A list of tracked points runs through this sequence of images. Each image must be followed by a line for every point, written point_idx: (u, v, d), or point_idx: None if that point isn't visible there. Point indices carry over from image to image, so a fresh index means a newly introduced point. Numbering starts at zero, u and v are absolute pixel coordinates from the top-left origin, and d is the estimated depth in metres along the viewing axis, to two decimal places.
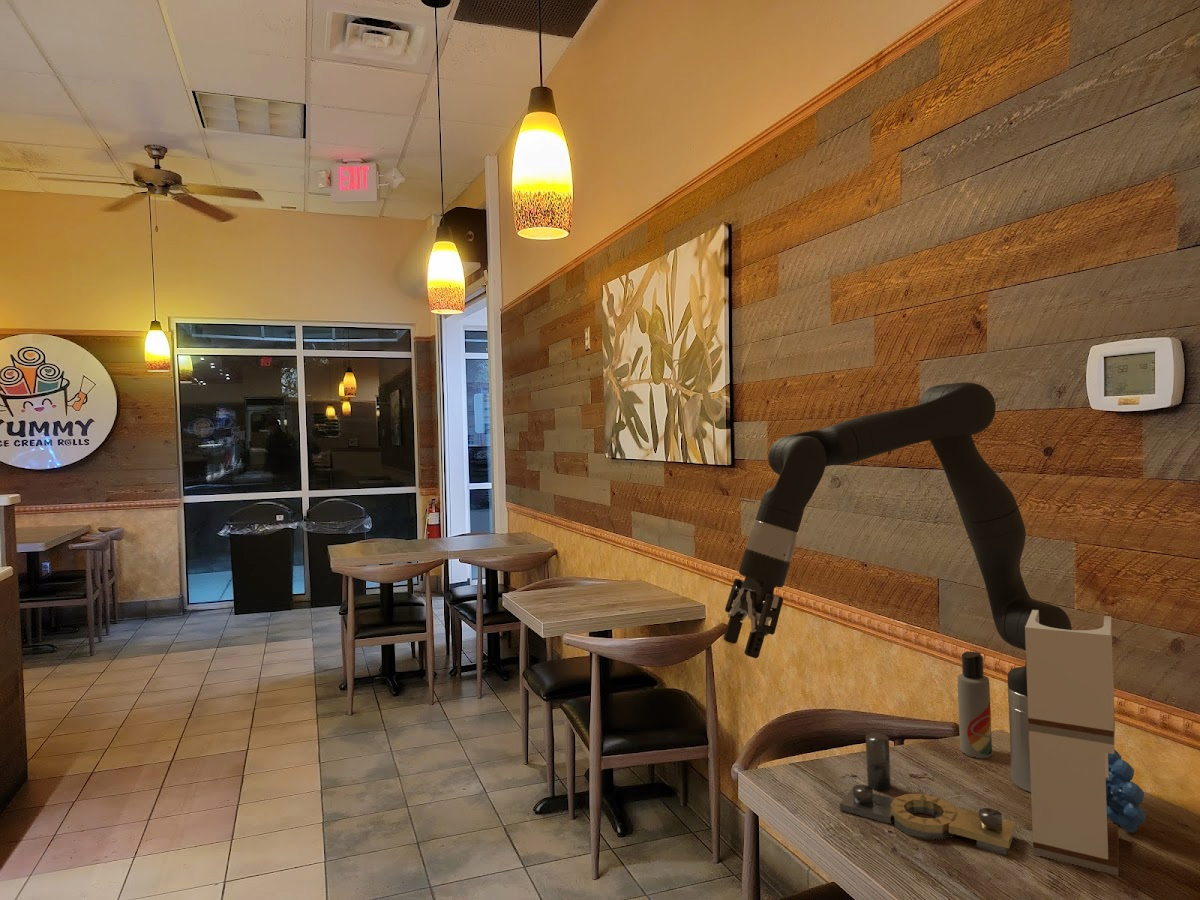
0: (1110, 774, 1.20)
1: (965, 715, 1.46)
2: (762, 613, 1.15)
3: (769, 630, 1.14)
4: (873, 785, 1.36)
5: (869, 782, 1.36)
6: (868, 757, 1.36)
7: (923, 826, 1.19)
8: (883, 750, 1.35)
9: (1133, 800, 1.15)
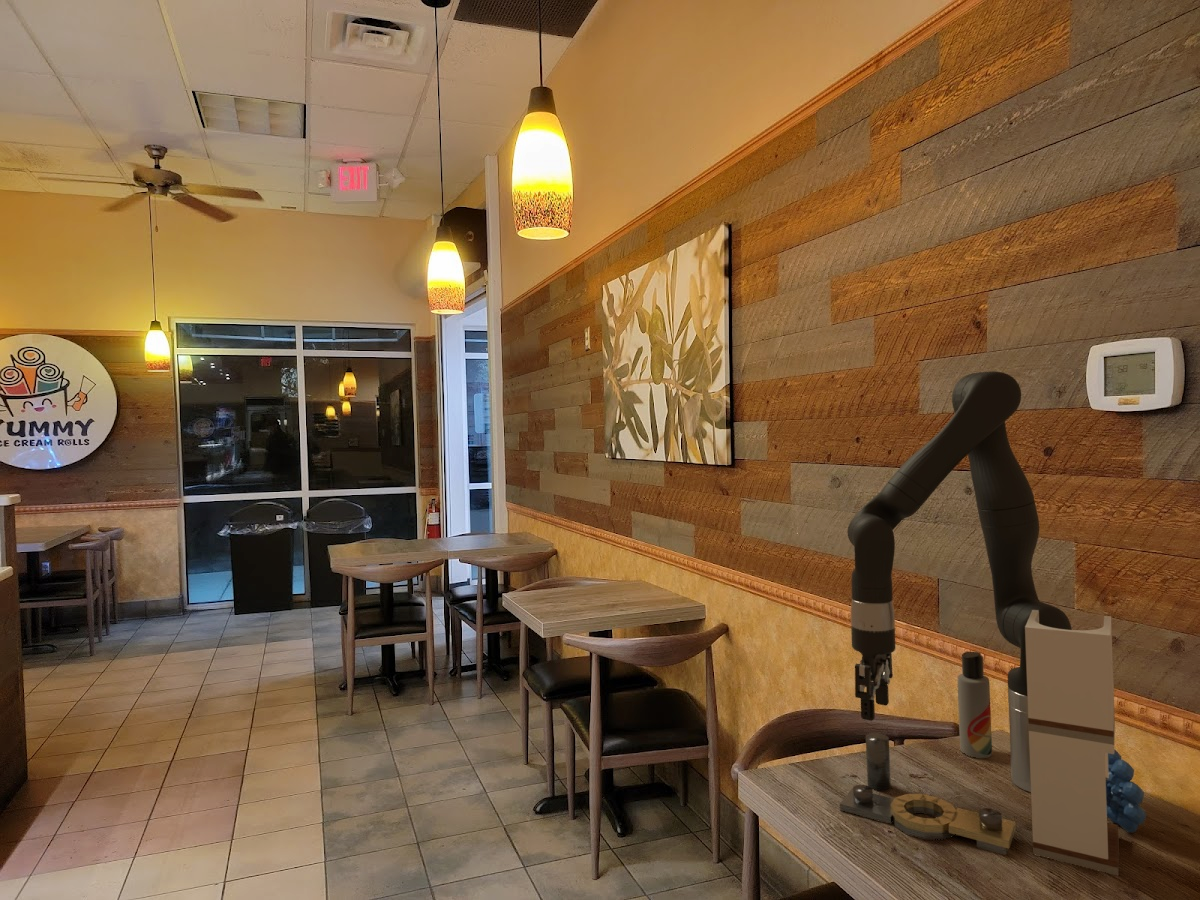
0: (1110, 774, 1.20)
1: (965, 715, 1.46)
2: None
3: (863, 696, 1.30)
4: (873, 785, 1.36)
5: (869, 782, 1.36)
6: (868, 757, 1.36)
7: (923, 826, 1.19)
8: (883, 750, 1.35)
9: (1133, 800, 1.15)
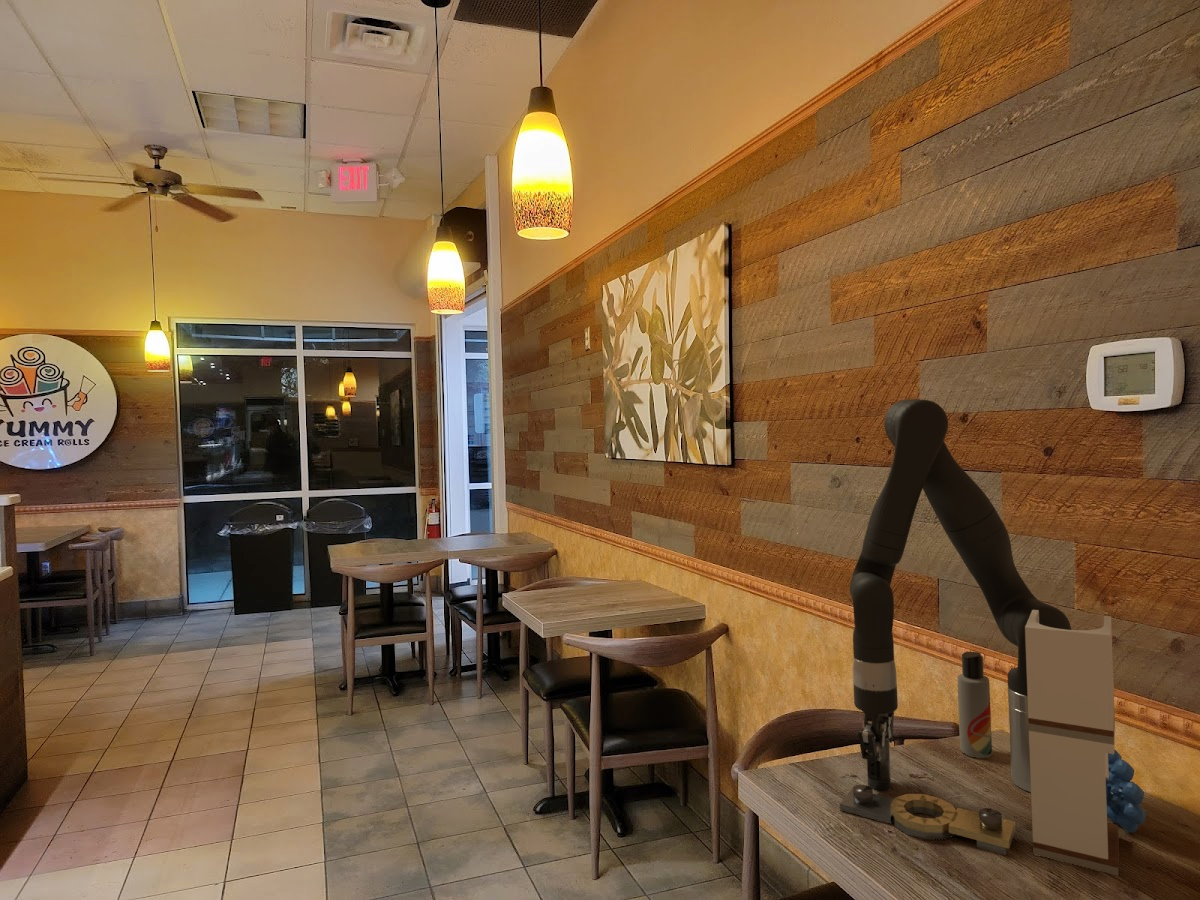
0: (1110, 774, 1.20)
1: (965, 715, 1.46)
2: None
3: (870, 759, 1.33)
4: (873, 785, 1.36)
5: (869, 782, 1.36)
6: None
7: (923, 826, 1.19)
8: (883, 750, 1.35)
9: (1133, 800, 1.15)
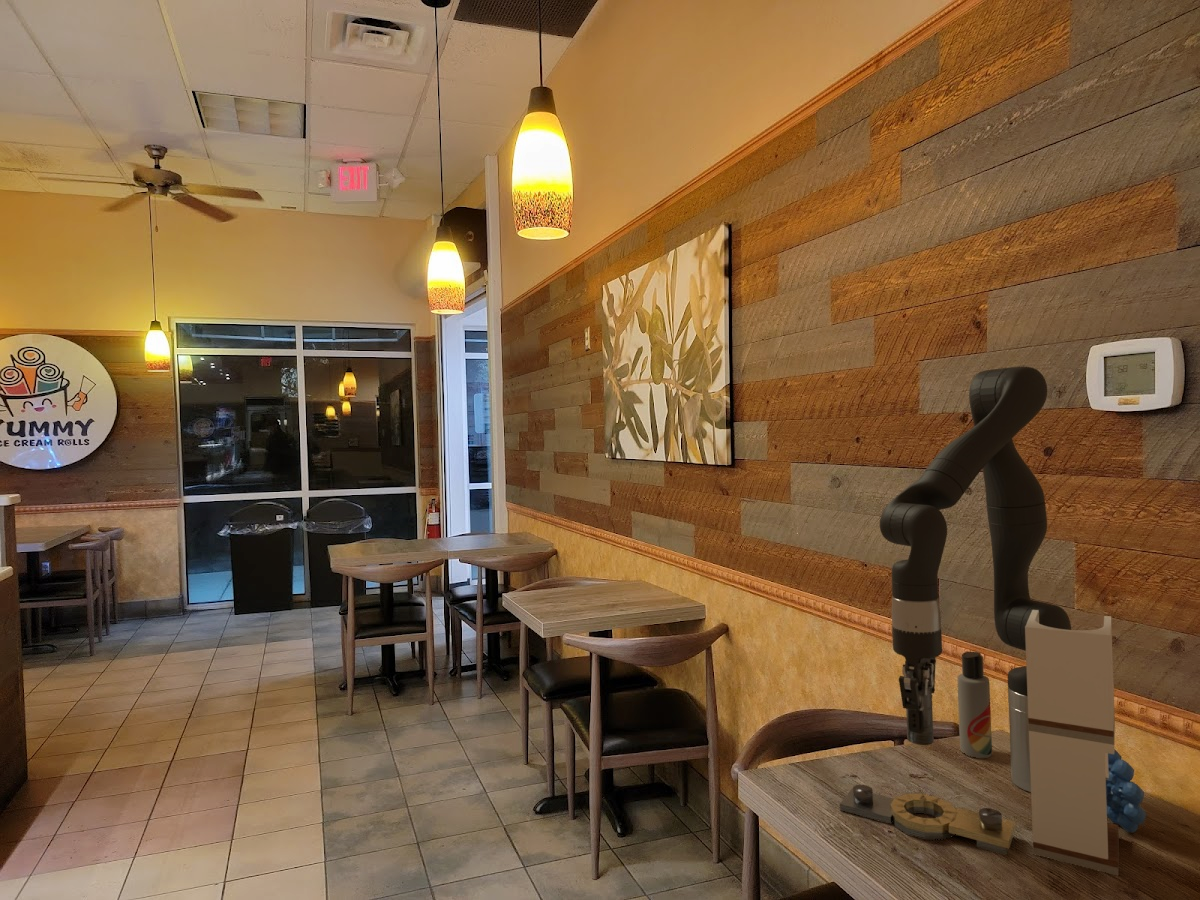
0: (1110, 774, 1.20)
1: (965, 715, 1.46)
2: None
3: (912, 708, 1.19)
4: (914, 739, 1.22)
5: (909, 736, 1.23)
6: None
7: (923, 826, 1.19)
8: (926, 699, 1.21)
9: (1133, 800, 1.15)
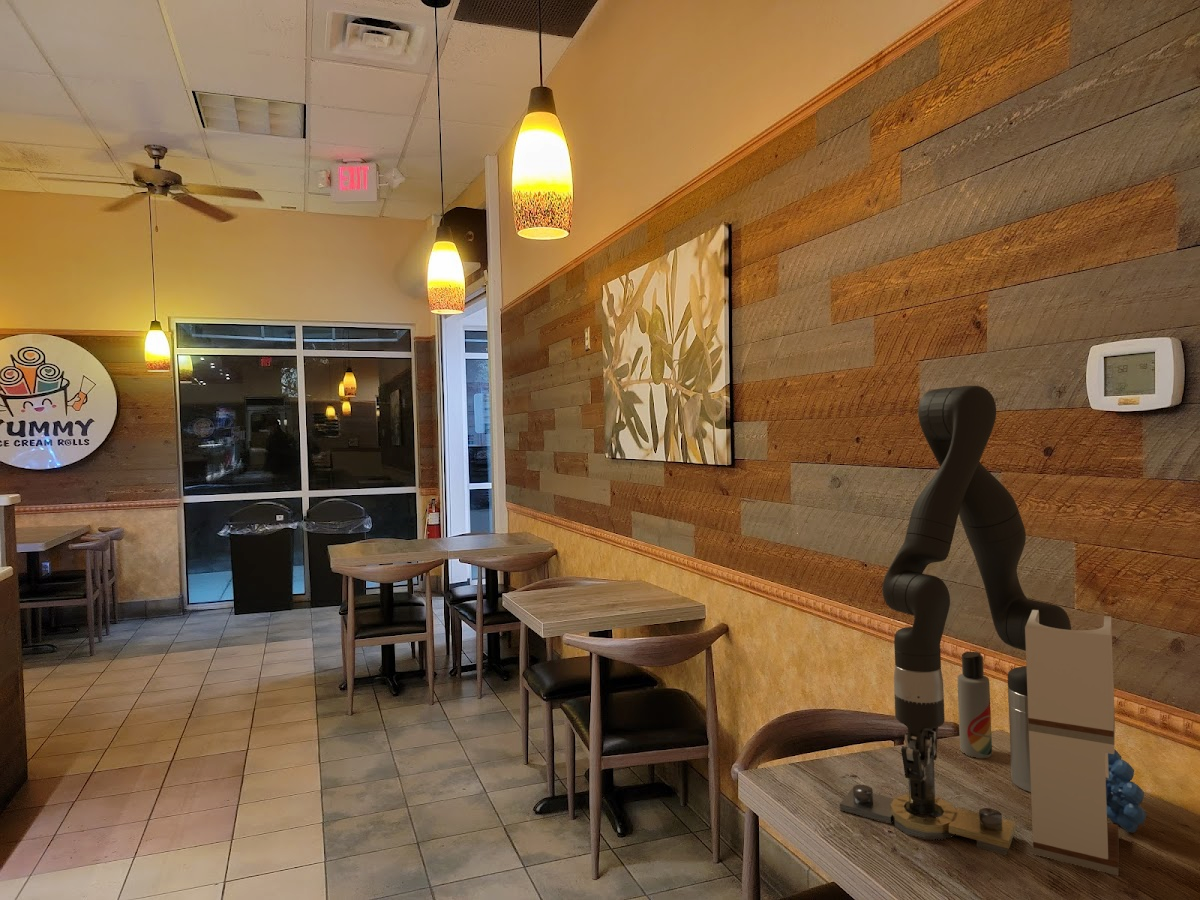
0: (1110, 774, 1.20)
1: (965, 715, 1.46)
2: None
3: (915, 778, 1.19)
4: (916, 808, 1.22)
5: (911, 804, 1.23)
6: None
7: (923, 826, 1.19)
8: (928, 769, 1.22)
9: (1133, 800, 1.15)
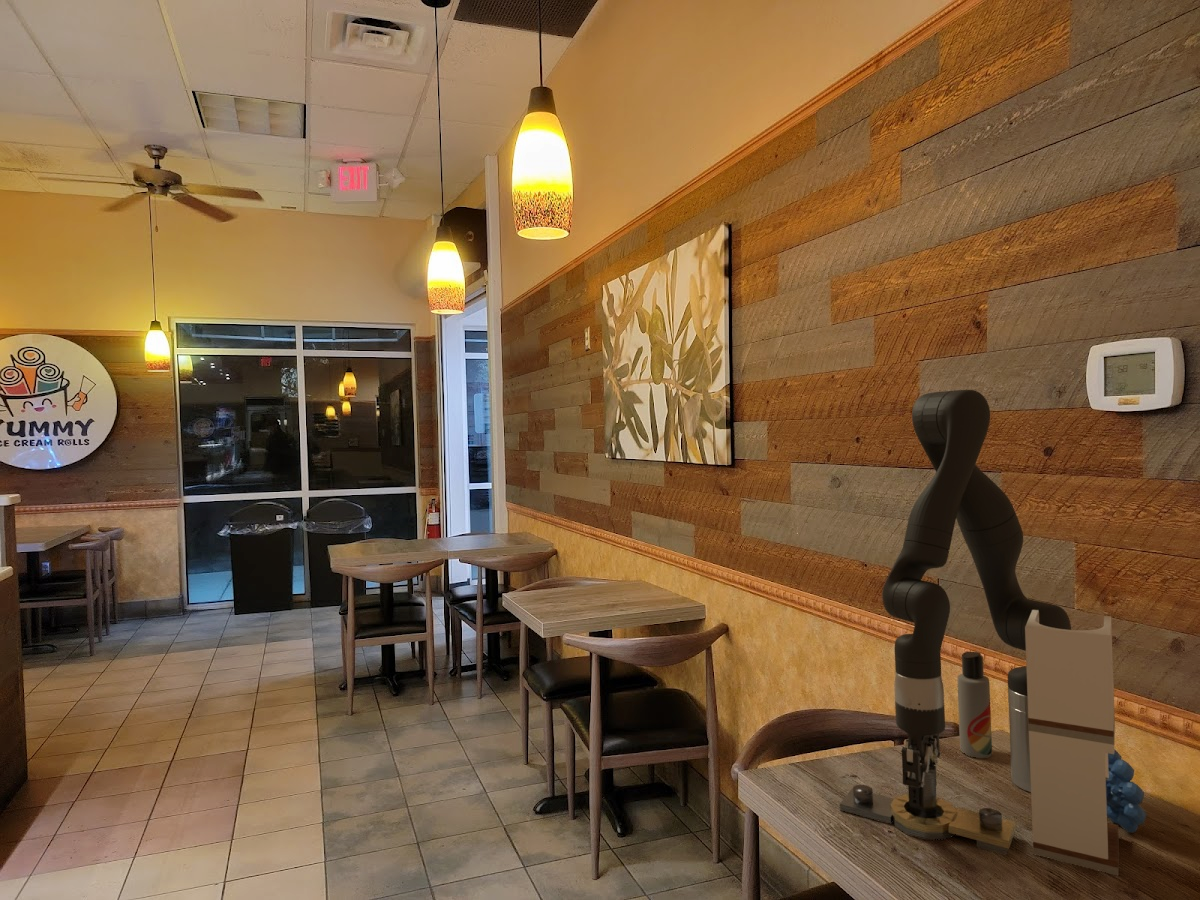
0: (1110, 774, 1.20)
1: (965, 715, 1.46)
2: None
3: (912, 784, 1.18)
4: None
5: None
6: None
7: (923, 826, 1.19)
8: (930, 784, 1.22)
9: (1133, 800, 1.15)
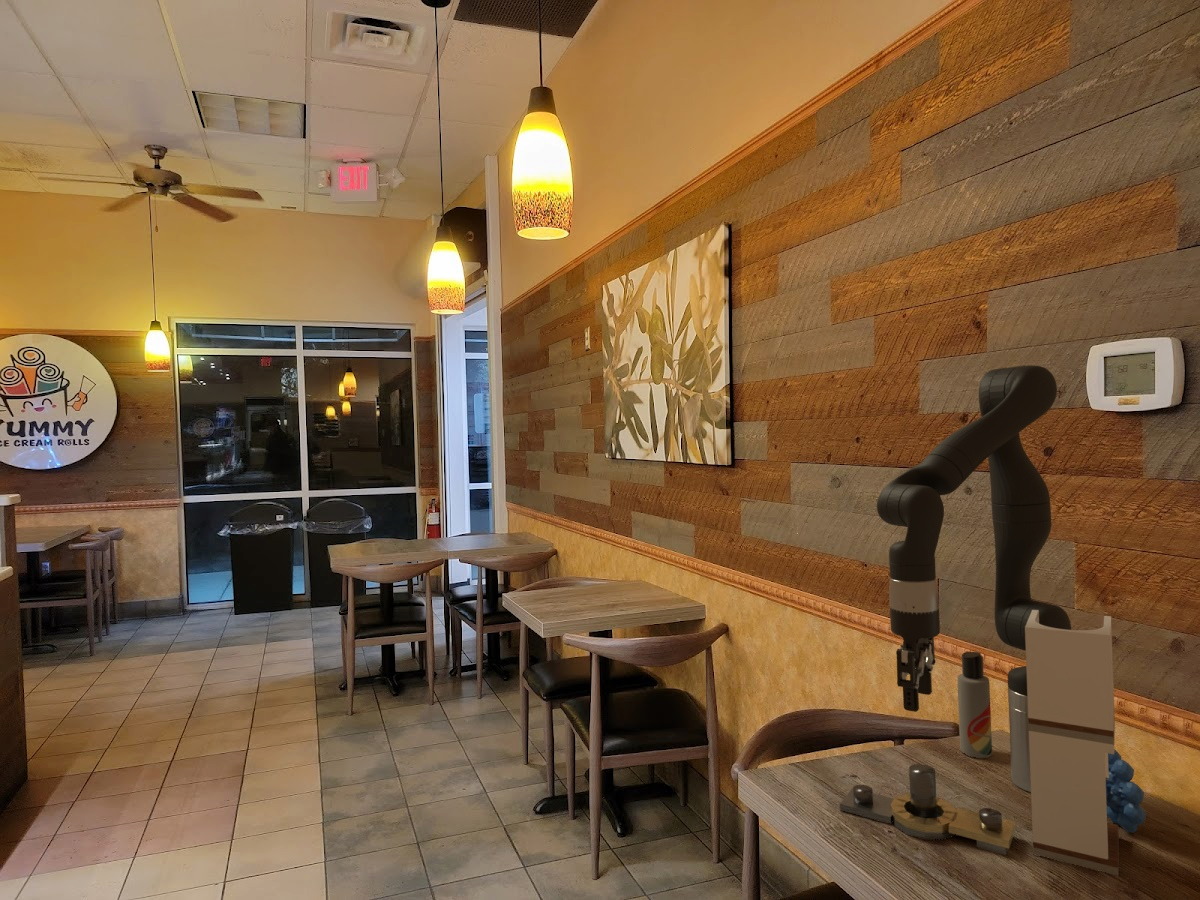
0: (1110, 774, 1.20)
1: (965, 715, 1.46)
2: None
3: (907, 685, 1.18)
4: None
5: None
6: (912, 791, 1.23)
7: (923, 826, 1.19)
8: (930, 784, 1.22)
9: (1133, 800, 1.15)
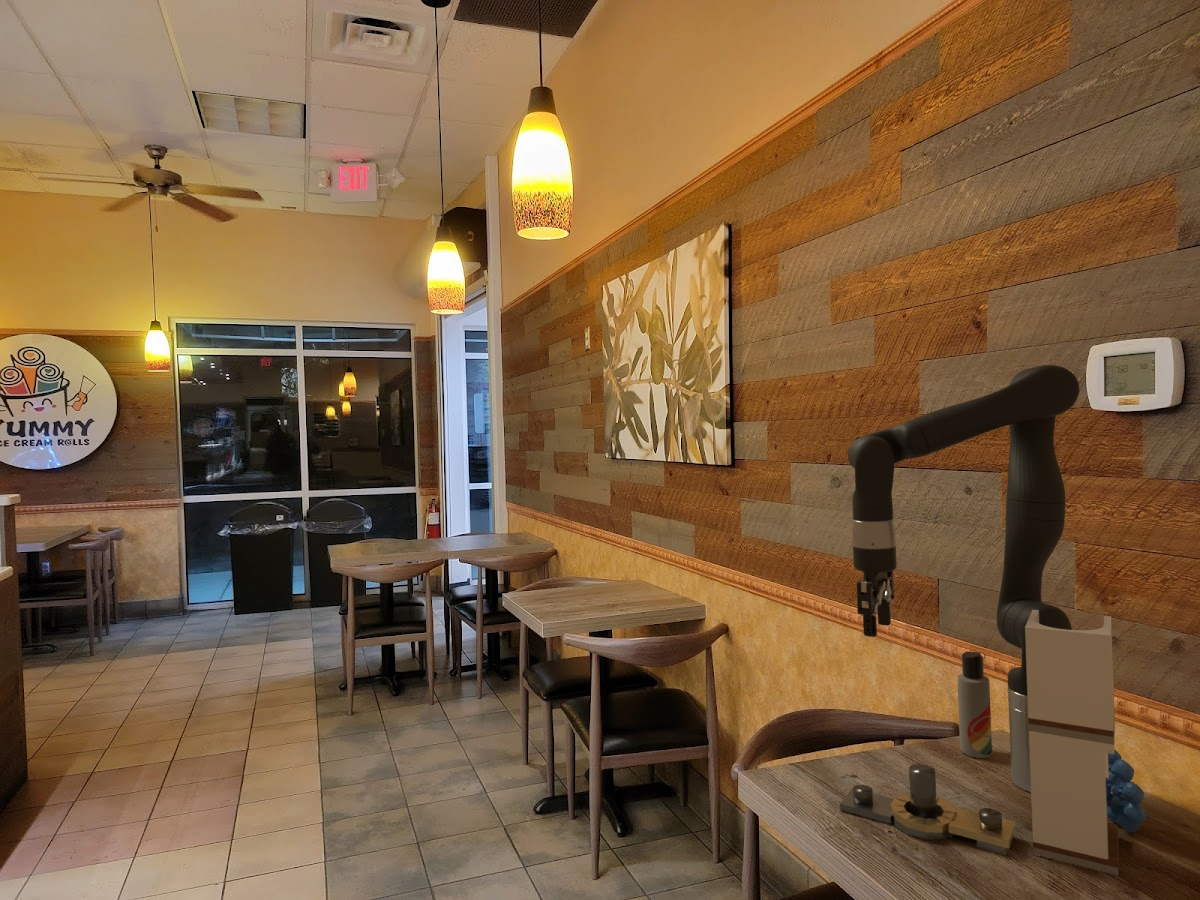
0: (1110, 774, 1.20)
1: (965, 715, 1.46)
2: None
3: (866, 612, 1.33)
4: None
5: None
6: (912, 791, 1.23)
7: (923, 826, 1.19)
8: (930, 784, 1.22)
9: (1133, 800, 1.15)
